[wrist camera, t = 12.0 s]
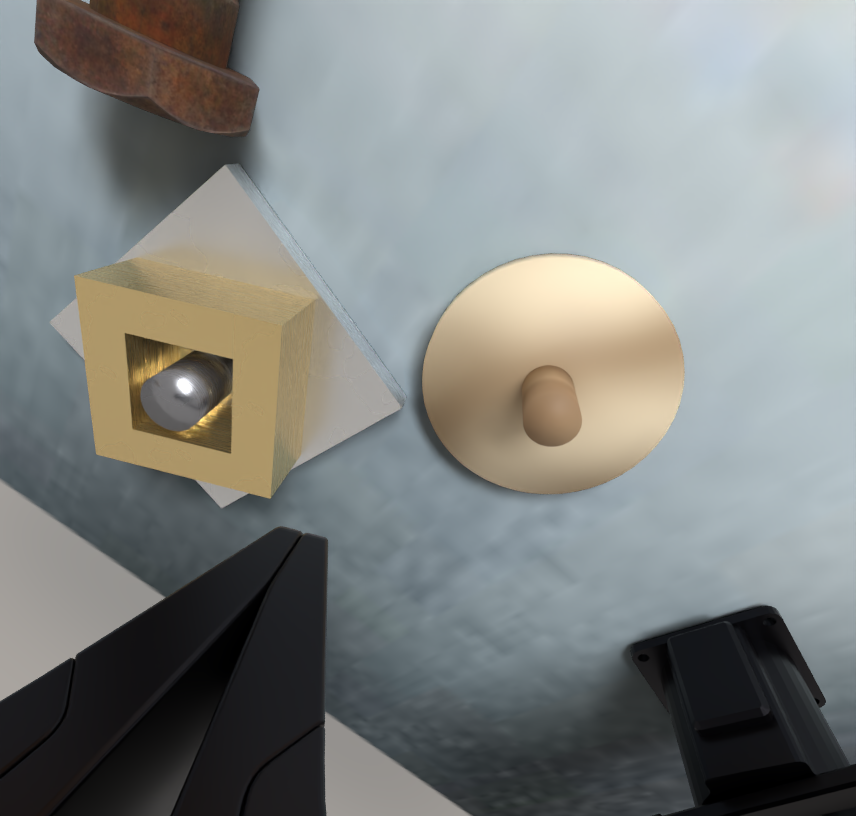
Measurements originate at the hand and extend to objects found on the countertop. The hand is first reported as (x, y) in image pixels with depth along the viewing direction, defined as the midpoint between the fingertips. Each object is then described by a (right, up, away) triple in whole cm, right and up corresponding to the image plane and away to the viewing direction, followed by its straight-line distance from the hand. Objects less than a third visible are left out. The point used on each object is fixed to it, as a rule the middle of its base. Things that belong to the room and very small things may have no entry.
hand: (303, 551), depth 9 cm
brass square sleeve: (-6, +4, +11) cm, 13 cm away
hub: (-6, +5, +12) cm, 14 cm away
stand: (+6, +4, +11) cm, 13 cm away
